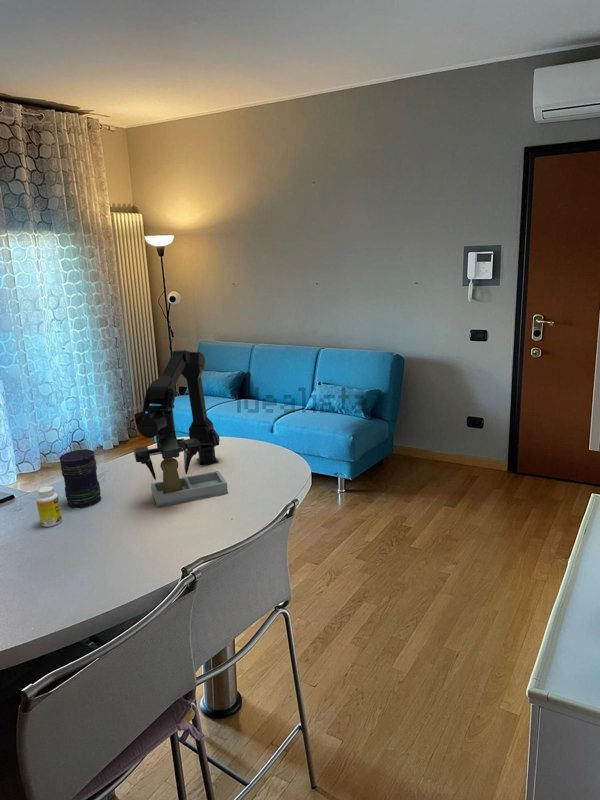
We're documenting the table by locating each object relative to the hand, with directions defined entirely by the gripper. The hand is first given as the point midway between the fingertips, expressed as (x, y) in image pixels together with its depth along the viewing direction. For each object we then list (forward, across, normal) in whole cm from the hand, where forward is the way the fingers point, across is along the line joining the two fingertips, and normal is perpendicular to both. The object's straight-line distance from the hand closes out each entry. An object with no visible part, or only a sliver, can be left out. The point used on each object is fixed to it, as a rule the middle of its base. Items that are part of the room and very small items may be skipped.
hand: (170, 476), depth 173 cm
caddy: (+6, +5, 0) cm, 8 cm away
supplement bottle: (+7, -34, -1) cm, 35 cm away
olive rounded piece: (+6, 0, 0) cm, 6 cm away
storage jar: (+7, -25, +10) cm, 28 cm away
